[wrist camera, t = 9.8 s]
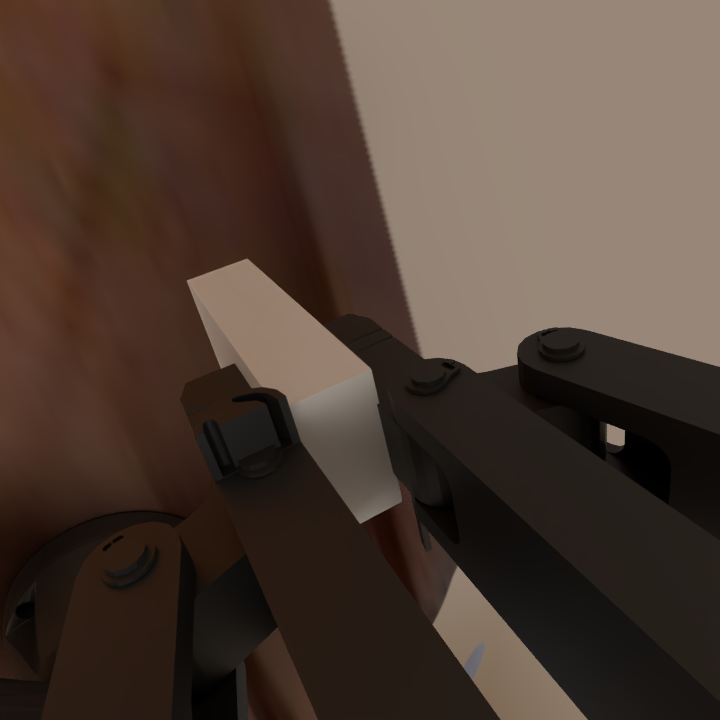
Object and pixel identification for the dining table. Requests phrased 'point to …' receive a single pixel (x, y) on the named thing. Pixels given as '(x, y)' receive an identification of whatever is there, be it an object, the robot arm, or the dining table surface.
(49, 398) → the dining table surface
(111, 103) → the dining table surface
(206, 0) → the dining table surface
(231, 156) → the dining table surface
